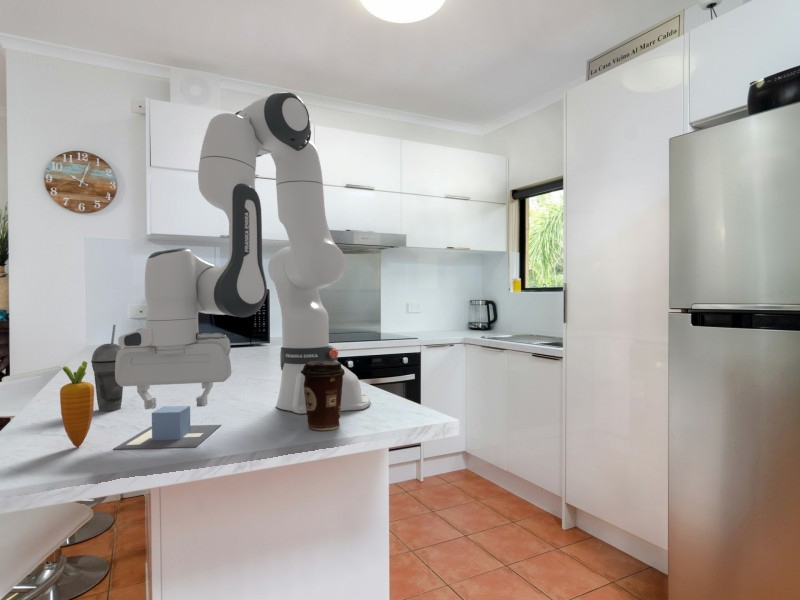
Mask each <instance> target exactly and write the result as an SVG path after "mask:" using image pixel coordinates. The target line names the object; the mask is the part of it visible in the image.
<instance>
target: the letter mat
mask: <svg viewBox="0 0 800 600" xmlns="http://www.w3.org/2000/svg"><path fill="white" fill-rule="evenodd" d="M221 426H222V424H204V425H203V424H198V425H196V424H194V425H193V424H192V425H191V424H190V432H189V433H188V434H187V435H185V436H184V437H183V438H181V439H174V440H152V425H151V426H149V427H147V428H146V429H144V430H142V431H140V432H139V433H138V434H136V435H134V436H133V437H130V438H129V439H127V440H126V441H123V442H122V443H120V444H119V445H117V446H115V447H114V448H112V450H116V451H117V450H119V451H120V450H147V449H150V450H151V449H181V448H185V449H186V448H197V447H198V446H199V445H201V444H202V443H203V442H204V441H205V440H206V439H208V438H209V437H210V436H211V435H212V434H213V433H214V432H216V430H218V429H220V427H221Z"/></svg>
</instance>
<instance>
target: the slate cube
mask: <svg viewBox="0 0 800 600" xmlns="http://www.w3.org/2000/svg"><path fill="white" fill-rule="evenodd" d="M151 426H152V440H174V439H181V438H183V437H184V436H185V435H187V434H188V433H189V432H190V426H191V406H190V405H179V406H178V405H173V406H172V405H171V406H170V405H169V406H167V405H166V406H162V407H160V408H158V409H156V410H155V411H153V412H151Z"/></svg>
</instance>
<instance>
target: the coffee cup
mask: <svg viewBox="0 0 800 600" xmlns="http://www.w3.org/2000/svg"><path fill="white" fill-rule="evenodd" d="M341 364H342V363H341V362H339V361H338V362H330V361H310V362H307V363H306V365H304V368H303V370H302V371H301V373H302V374H303V375H304V376H305V381H304V395H305V405H306V412H307V413H306V416H307V427H308V428H310V429H312V430H313V431H314V430H315V431H320V432H321V431H333V430H336V429H338V428H340V424H341V423H340V418H341V412H342V411H341V396H342V385H343V375H344V374H345V372H344V369H343V368H342V367H341Z"/></svg>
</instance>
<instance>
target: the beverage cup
mask: <svg viewBox="0 0 800 600" xmlns="http://www.w3.org/2000/svg"><path fill="white" fill-rule="evenodd" d="M116 327H117V325H116V324H112V331H111V332H112V333H111V341H110V343H103V344H101V345H99V346H98V347H96V349H95V350H94V351H93V353H92V354H91V355H92V357H91V360H90V363H91V367H92V371H93V374H94V382H95V383H94V384H95V394H96V401H97V402H96V403H97V407H98V411H99V412H104V413H105V412H113V411H118V410H120V409H122V402H123V392H124V391H123V390H124V386H123V387H121V386H119V384H118V383H117V382H116V380H115V362H116V356H117V353H118V351H119V350H120V349H122V348H123V347H120V346H119V344H117V343H115V337H116V336H115V335H116Z"/></svg>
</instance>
